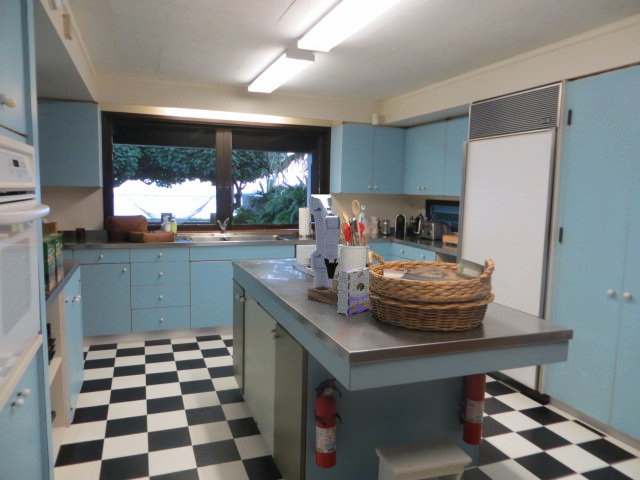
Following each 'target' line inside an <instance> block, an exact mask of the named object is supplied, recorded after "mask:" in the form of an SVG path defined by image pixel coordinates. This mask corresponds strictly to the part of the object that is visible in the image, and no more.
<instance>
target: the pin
mask: <svg viewBox="0 0 640 480" xmlns="http://www.w3.org/2000/svg"><path fill="white" fill-rule="evenodd" d="M332 293H335V294H338V278H337V279H336V278H334V279H333V280H332Z"/></svg>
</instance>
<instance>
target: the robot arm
mask: <svg viewBox="0 0 640 480" xmlns="http://www.w3.org/2000/svg"><path fill="white" fill-rule="evenodd" d="M308 197H309V200H308V204H309V205H308V207H309V212H310V213H309V214H311V215H313V219H314V230H315V234H314V235H315V248H316V249H315V250H314V251H312V253H311V254H310V269H311V270H312V271H313V288H315V287H319V286H326V287H330V288H332V280H333V279H335V274H336V270H337V267H338V265H339V262H338V261H337V260H338V258H339V230H340V228H341V217H340V215H336V213H335V210H334V209H333V208H332V205H333V197H332V195H331V194H310V195H309V196H308Z"/></svg>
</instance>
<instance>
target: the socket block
mask: <svg viewBox="0 0 640 480" xmlns="http://www.w3.org/2000/svg"><path fill="white" fill-rule="evenodd" d="M307 298H308V299H310V300H314V301H318V302H322V303H326V304H330V305H334V306H337V298H338V294H335V293H332V288H330V287H326V286H319V287H315V288H314V287H310V288H308V289H307Z"/></svg>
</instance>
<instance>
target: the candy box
mask: <svg viewBox="0 0 640 480" xmlns="http://www.w3.org/2000/svg"><path fill="white" fill-rule="evenodd" d="M369 268H370V267H365V266H358V267H351V268H346V269H340V270H338V271H337V279H338V298H337V305H336V306H337V309H336V311H337V312H336V313H337V314H340V315H343V316H347V317H348V316H349V317H350V316H352V315H355V314H359V313H362V312H366V311H370V310H371V309H370V306H369V295H368V293H369V287H368V286H369Z"/></svg>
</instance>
